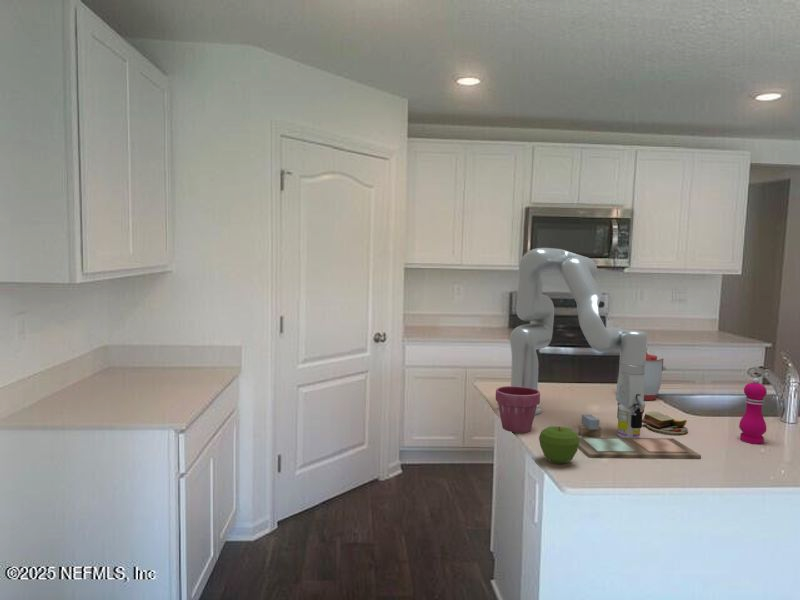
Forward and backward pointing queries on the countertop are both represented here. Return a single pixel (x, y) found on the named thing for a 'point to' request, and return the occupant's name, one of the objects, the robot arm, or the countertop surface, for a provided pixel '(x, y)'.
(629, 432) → the supplement bottle
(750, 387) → the pepper mill
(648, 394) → the citrus juicer
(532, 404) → the plant pot
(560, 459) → the apple
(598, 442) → the tile board
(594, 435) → the brick walnut
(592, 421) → the brick grey
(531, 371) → the robot arm
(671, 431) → the toy sandwich meal
